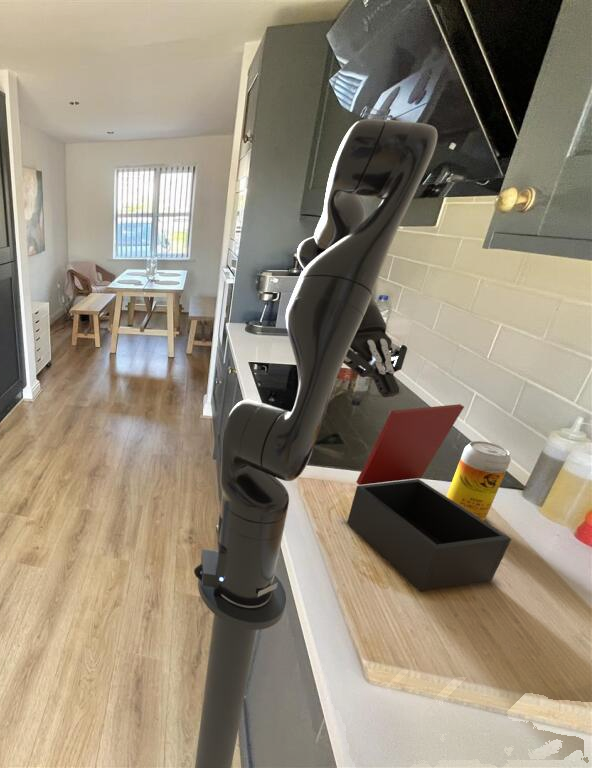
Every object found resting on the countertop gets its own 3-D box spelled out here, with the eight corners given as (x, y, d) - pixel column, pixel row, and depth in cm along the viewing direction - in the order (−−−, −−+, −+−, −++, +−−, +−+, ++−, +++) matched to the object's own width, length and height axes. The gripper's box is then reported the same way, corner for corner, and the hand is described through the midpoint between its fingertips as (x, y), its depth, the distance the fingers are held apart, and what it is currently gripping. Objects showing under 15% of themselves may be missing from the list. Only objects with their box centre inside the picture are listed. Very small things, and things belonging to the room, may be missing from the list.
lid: (464, 406, 65) (460, 404, 66) (395, 413, 64) (391, 410, 65) (421, 478, 74) (417, 475, 75) (359, 485, 73) (355, 482, 74)
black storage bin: (491, 581, 63) (511, 538, 60) (420, 591, 62) (436, 548, 59) (405, 516, 78) (418, 478, 75) (346, 523, 77) (356, 485, 73)
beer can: (456, 524, 75) (483, 456, 70) (434, 503, 81) (458, 439, 75) (492, 526, 74) (523, 458, 69) (468, 505, 80) (494, 440, 74)
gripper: (336, 306, 74) (373, 390, 68) (400, 301, 76) (443, 384, 69) (312, 327, 81) (343, 405, 75) (371, 322, 82) (407, 399, 76)
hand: (391, 395), depth 72 cm, fingers closed
